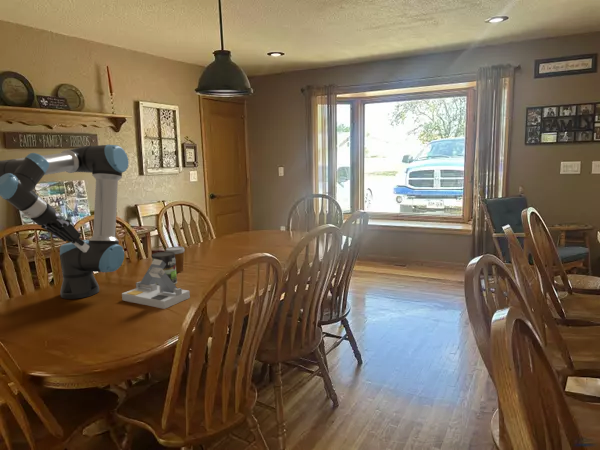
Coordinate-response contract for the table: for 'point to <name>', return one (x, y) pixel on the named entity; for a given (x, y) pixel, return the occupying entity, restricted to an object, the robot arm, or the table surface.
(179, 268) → the disposable coffee cup
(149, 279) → the paddle over amber tile
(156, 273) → the paddle over charcoal tile
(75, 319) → the table surface
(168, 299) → the switch unit
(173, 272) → the coffee can
